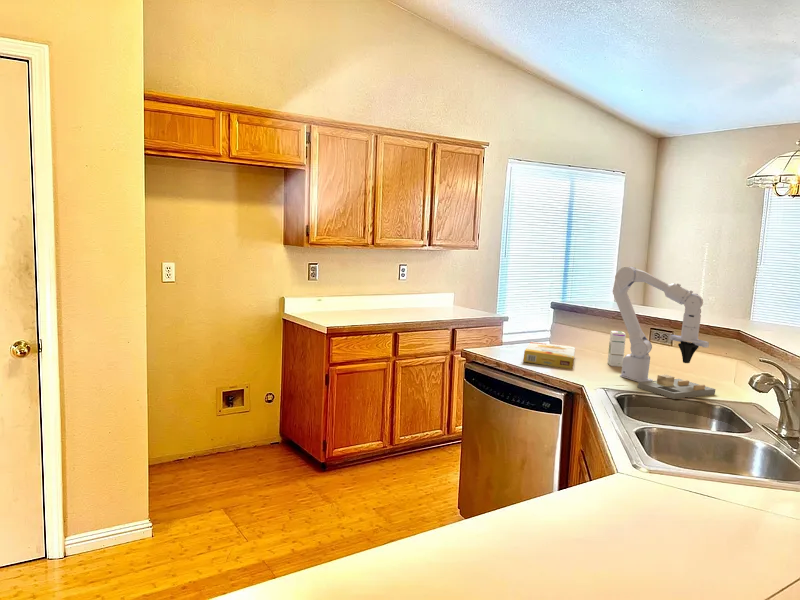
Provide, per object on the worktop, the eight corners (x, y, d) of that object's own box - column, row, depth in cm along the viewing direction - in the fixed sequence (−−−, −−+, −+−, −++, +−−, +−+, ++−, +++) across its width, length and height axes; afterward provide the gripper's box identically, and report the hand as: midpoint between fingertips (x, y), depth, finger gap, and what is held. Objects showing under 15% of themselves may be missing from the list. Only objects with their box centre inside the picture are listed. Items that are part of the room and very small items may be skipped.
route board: (637, 387, 215) (638, 378, 214) (678, 383, 225) (679, 374, 225) (673, 399, 202) (674, 389, 201) (714, 394, 212) (716, 385, 212)
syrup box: (623, 367, 250) (626, 333, 248) (608, 365, 251) (612, 332, 249) (620, 364, 255) (624, 331, 254) (606, 363, 257) (610, 330, 255)
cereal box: (524, 350, 244) (529, 339, 271) (522, 363, 245) (528, 351, 272) (574, 357, 238) (575, 346, 265) (573, 370, 239) (574, 358, 266)
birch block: (656, 383, 215) (657, 375, 215) (664, 382, 217) (665, 374, 217) (666, 385, 212) (667, 377, 211) (673, 385, 214) (674, 377, 213)
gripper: (716, 330, 213) (711, 366, 214) (680, 323, 226) (676, 358, 227) (703, 330, 210) (698, 367, 211) (668, 323, 222) (663, 358, 224)
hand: (686, 362), depth 219 cm, fingers closed
